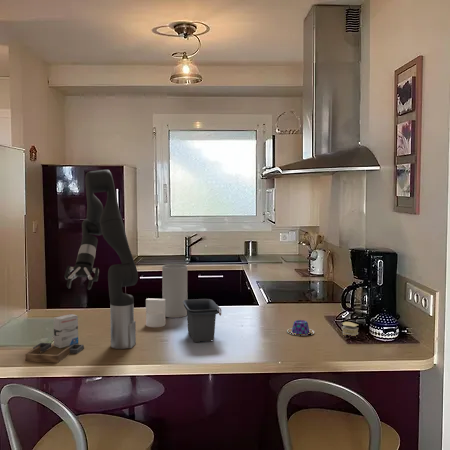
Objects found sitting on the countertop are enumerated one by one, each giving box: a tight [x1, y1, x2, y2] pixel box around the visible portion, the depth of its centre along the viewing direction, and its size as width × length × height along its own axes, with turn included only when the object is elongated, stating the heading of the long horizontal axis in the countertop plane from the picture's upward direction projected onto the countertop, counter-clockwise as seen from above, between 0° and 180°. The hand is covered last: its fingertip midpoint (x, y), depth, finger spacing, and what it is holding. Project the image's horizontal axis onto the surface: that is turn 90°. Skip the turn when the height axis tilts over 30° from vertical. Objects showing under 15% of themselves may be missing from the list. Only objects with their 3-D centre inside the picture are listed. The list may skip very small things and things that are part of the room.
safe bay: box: [24, 346, 71, 363], centre depth 181 cm, size 13×9×2 cm
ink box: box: [52, 313, 79, 349], centre depth 195 cm, size 8×5×12 cm, turn 141°
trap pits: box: [32, 342, 85, 354], centre depth 189 cm, size 18×6×2 cm, turn 83°
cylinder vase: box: [161, 263, 188, 319], centre depth 242 cm, size 12×12×25 cm
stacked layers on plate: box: [341, 321, 360, 336], centre depth 209 cm, size 10×9×6 cm
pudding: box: [286, 319, 315, 336], centre depth 214 cm, size 12×12×5 cm
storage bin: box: [183, 298, 222, 343], centre depth 207 cm, size 21×16×14 cm
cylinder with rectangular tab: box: [145, 297, 166, 328], centre depth 225 cm, size 9×9×12 cm
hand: (78, 288), depth 208 cm, fingers open, 8 cm apart
